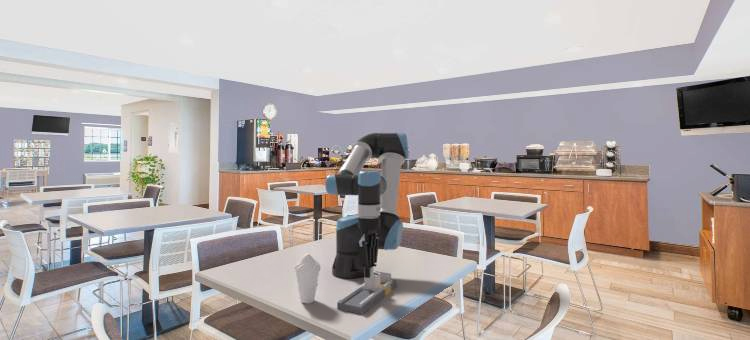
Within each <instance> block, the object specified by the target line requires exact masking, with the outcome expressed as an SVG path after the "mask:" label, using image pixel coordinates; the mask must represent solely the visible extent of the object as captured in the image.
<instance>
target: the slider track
mask: <svg viewBox="0 0 750 340" xmlns="http://www.w3.org/2000/svg"><path fill="white" fill-rule="evenodd" d="M375 272H376V273H380V288H379V289H378V290H376V291H372V290H366V289H365V286H364V282H363V283H362V284H360V285H359V286H358V287H356V288H354V289H353V290H351V291H350V292H349V293H346V294H345V295H344V296H342V297H341V298H339V299H338V302H337V306H336V307H337V308H336V309H337V310H342V311H345V312H350V313H354V314H360V315H364V314H365V313H366V312H368V311H369V310H370V309H371V308H373V307H374V306H375V305H376V304H377V303H379V302H380V301H381V300H382V299H384V297H386V296H387V295H388V294H390V292H392V291H393V290H394V289H395V288H396V287H398V281H397V280H396V279H395V280H394V279H392V273H390V272H389V273H388V272H382V271H375Z"/></svg>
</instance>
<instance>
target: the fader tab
mask: <svg viewBox="0 0 750 340" xmlns="http://www.w3.org/2000/svg"><path fill="white" fill-rule="evenodd" d="M379 288H380V273H376V271H374V285H373V287H367V286H365V289H366V290H372V291H376V290H378V289H379Z"/></svg>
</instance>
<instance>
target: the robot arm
mask: <svg viewBox="0 0 750 340" xmlns="http://www.w3.org/2000/svg"><path fill="white" fill-rule="evenodd" d="M408 143H409V141H408V137H407V134H406V133H404V132H371V133H368V134H366V135H364V136H362V137H361V138H359V139H357V140H356V142H354V143H353V144H352V147H351V151H350V154H349V155H348V157H347V159H346V160H345V161H344V163H343V164H342V166H341V167H340V169H339V170H338V172H337V173H334V174H328V175H327V176H326V179H325V184H324V186H325V187H324V188H325V191H326V193H327V194H328V195H332V196H334V195H335V196H357V201H358V202H357V203H358V204H357V214H356V215H355V214H353V215H348V216H343V217H340V218H339V219H337V221H336V228H335V234H336V235H335V236H336V237H335V238H336V239H335V241H336V242H335V246H336V248H335V250H336V252H335V253H336V254H335V257H334V261H333V264H332V266H331V274H332V275H333V276H334V277H337V278H341V279H359V278H363V277H364V279H363V280H364V282H363V283H364V286H367V287H373V285H374V272H375V269H374V267H377V262H378V254H379V250H385V251H390V250H391V251H393V250H394V251H395V250H397V249H398V248H399V247H400V245H401V243H402V237H403V231H404V230H403V228H404V223H403V221H402V220H401V218H400V216H399V215H398V213H397V212H398V211H397V210H398V200H399V190H400V180H401V171H402V170H401V169H402V165H404V163H405V162H406V160H407V159H410V153H409V144H408ZM370 159H378V161H379V162H380V163H381V166H380V168H381V169H380V171H378V170H363V168H364V166H365V164H366V163H367V162H368V161H369V160H370Z"/></svg>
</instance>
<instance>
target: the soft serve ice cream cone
mask: <svg viewBox="0 0 750 340" xmlns="http://www.w3.org/2000/svg"><path fill="white" fill-rule="evenodd" d="M294 270H295V271H294V272H295V274H296V275H295V276H296V283H297V284H296V286H297V289H298V292H299V294H298V295H299V299H300V302H301V304H311V303H314V302H315V299H316V292H317V289H318V288H317V287H318V285H319V284H318V281H319V279H318V278H319V275H320V274H319V273H320V271H321V264H320V262H318V260H316V259H315V258H314V257H313V256H312V255H311V254H310V253H307V252H306V253H305V254H304V256H303V257H301V258H300V259H299V260H298V262H296V263H295V266H294Z"/></svg>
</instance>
